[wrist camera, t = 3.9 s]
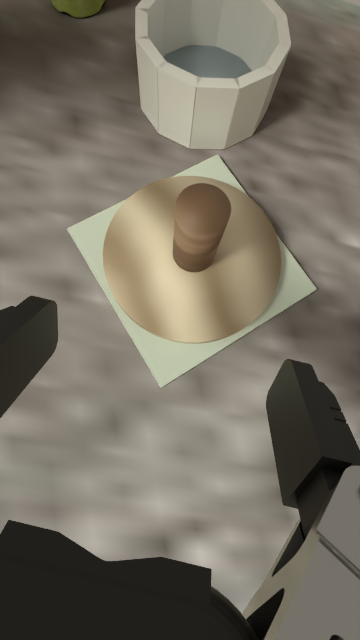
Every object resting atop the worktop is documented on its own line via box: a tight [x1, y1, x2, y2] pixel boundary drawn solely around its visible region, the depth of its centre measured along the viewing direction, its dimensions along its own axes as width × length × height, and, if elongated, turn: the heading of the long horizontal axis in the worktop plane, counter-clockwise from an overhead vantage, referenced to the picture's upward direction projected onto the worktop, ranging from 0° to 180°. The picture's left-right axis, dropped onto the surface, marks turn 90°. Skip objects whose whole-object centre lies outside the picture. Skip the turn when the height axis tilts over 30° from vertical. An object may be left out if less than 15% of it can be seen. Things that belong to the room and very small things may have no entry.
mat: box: [67, 154, 317, 387], centre depth 25 cm, size 16×16×1 cm
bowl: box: [135, 0, 291, 149], centre depth 27 cm, size 13×13×6 cm
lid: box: [103, 176, 281, 344], centre depth 21 cm, size 15×15×8 cm
